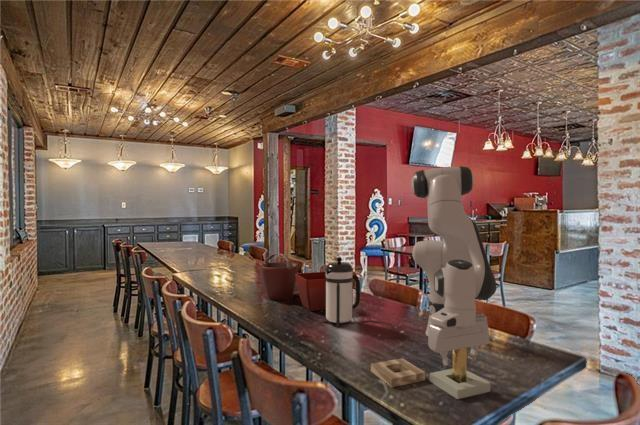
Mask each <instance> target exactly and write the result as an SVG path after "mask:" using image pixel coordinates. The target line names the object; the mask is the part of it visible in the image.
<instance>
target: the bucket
mask: <svg viewBox="0 0 640 425" xmlns="http://www.w3.org/2000/svg"><path fill="white" fill-rule="evenodd" d="M275 256H281V258H283V259H284V260H285V262H280V261H279V262H270V261H269V260H272V259H273V258H274V257H275ZM298 271H299V263H296V262H292V260H291V259H290V258H289V257H288V255H286V254H285V253H272V254H270V255H269V256H268V257H266V258H265V259H264V263H263V264H259V274H260V278H261V279H260V280H261V284H262V289H263V293H264V297H265V298H266V299H267V300H272V301H284V300H289V299H290V298H291V299H293V297H294V293H295V287H296V284H297V283H296V276H295V274H297V273H299V272H298Z"/></svg>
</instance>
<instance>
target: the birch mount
mask: <svg viewBox="0 0 640 425" xmlns="http://www.w3.org/2000/svg"><path fill="white" fill-rule="evenodd" d="M370 372H371V373H373V374H374V375H375V376H376V377H378V378H379V379H380V380H381V381H382V382H384V383H385V384H386V383H387V384H386V385H388V386H389V387H390V388H394V387H400V386H404V385H405V386H406V385H410V384H414V383H420V382H424V381H426V372H425V371H424V370H422V369H421V368H419V367H417V366H415V365H414V364H412V363H410V362H409V361H407V359H404V358H403V357H401V358H395V359H390V360H385V361H379V362H372V363H370Z"/></svg>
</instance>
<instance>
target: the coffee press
mask: <svg viewBox="0 0 640 425" xmlns="http://www.w3.org/2000/svg"><path fill="white" fill-rule="evenodd" d="M342 260H343V259H342V257H340V256H338V257H337V258H336V261H334V262H330V263H328V264H327V265H326V266H325V268H324V272H326V277H325V280H326V282H325V310H324V311H325V312H324V313H325V315H324V317H323V318H322V319H323V320H322V322H323V323H326V322H328V321H329V322H331V323H335V324H336V325H335V326H336V328H340V327H341V326H340V324H343V323H349V322H351V323H352V324H354V325H355V324H356V319H355V318H354V317H353V313H354V309H357V308H358V306H359V305H360V302H361V300H360V299H361V283H360V278H359V276H358V275H355V274H353V271H354V268H353V265H351V263H349V262H344V261H342ZM354 281H355V302H354V303H353V282H354ZM325 318H326V320H325ZM324 320H325V321H324ZM352 320H354V321H352Z"/></svg>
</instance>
